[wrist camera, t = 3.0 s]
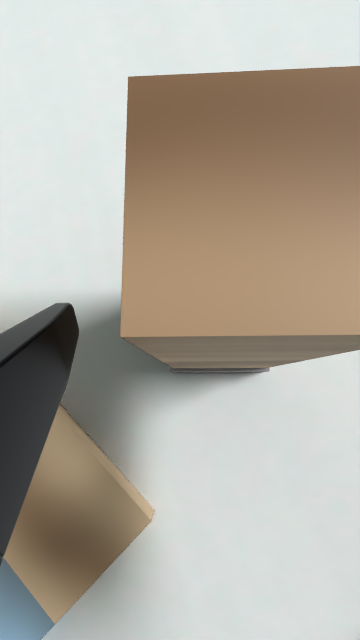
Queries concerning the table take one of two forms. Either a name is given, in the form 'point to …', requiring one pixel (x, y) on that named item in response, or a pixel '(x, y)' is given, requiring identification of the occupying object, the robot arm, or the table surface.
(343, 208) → the wooden pillar on base
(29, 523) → the board
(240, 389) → the table surface
